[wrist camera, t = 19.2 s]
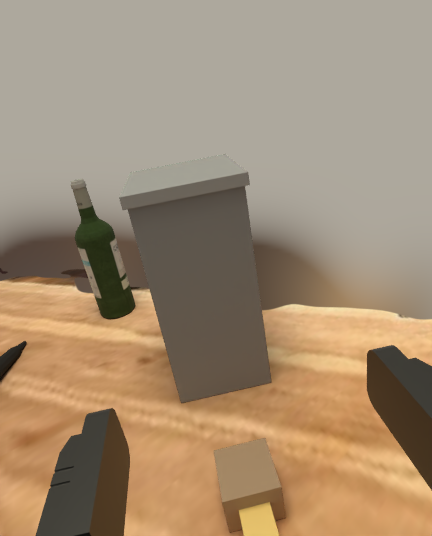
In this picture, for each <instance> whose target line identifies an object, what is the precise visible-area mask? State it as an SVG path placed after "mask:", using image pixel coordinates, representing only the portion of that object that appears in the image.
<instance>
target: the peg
mask: <svg viewBox="0 0 432 536" xmlns="http://www.w3.org/2000/svg"><path fill="white" fill-rule="evenodd" d="M214 457H215V463H216V469H217V475H218V480H219V486H220V492H221V498H222V504H223V508H224V512H225V516H226V520H227V523H228V527H229V531H230V533H231V532H234V531H238V530H242V529H243V534H244V536H279V533H278V530H277V526H276V523H275V521H276V520H280V519H283V518H286V516H285V509H284V502H283V495H282V488H281V484H280V481H279V478H278V475H277V472H276V469H275V466H274V463H273V460H272V457H271V454H270V451H269V448H268V445H267V442H266V439H265V438H262V439H258V440H254V441H250V442H246V443H242V444H238V445H234V446H230V447H226V448H222V449H218V450H214Z"/></svg>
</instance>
